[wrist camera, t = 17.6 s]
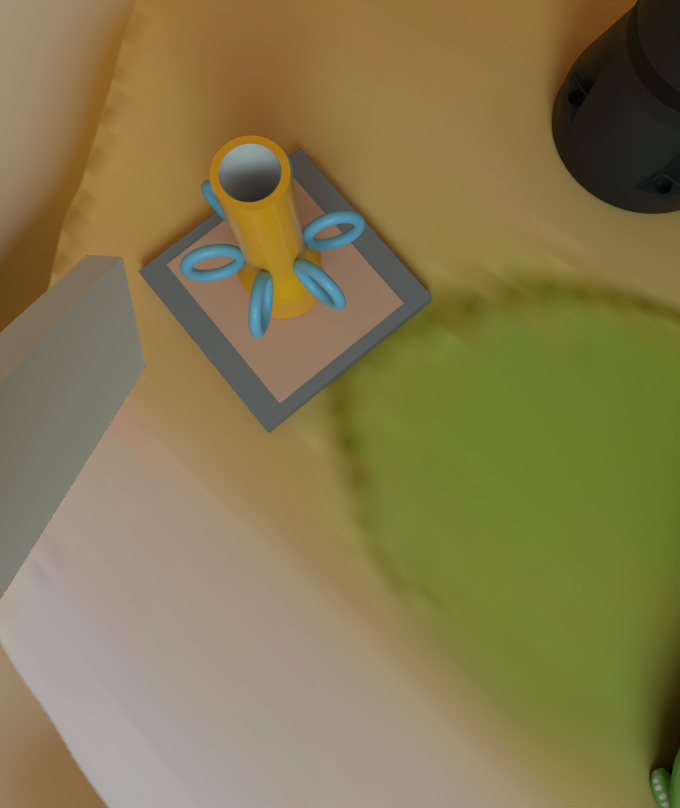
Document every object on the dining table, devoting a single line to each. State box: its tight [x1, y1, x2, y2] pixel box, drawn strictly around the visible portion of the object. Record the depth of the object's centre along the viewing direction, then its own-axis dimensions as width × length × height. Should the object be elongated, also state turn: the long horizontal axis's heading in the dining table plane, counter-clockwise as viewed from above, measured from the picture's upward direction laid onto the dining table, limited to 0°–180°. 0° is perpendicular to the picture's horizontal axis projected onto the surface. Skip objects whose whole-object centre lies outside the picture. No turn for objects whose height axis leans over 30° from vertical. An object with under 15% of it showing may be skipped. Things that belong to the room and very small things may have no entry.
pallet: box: [138, 148, 432, 433], centre depth 43 cm, size 16×16×1 cm
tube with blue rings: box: [180, 135, 365, 339], centre depth 35 cm, size 12×10×15 cm
